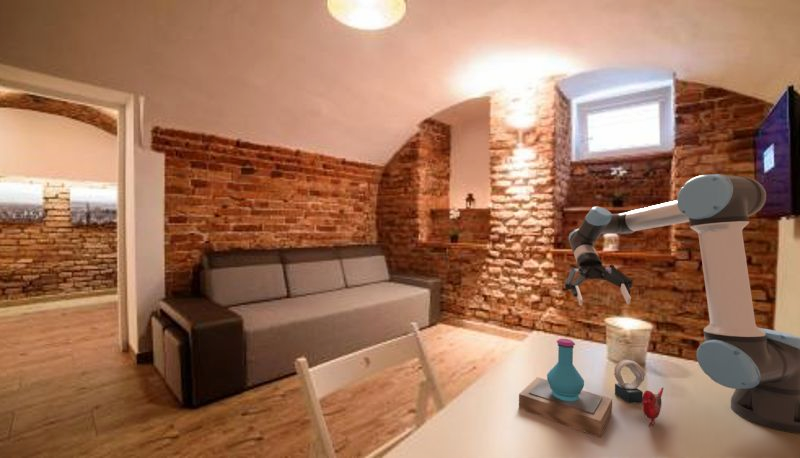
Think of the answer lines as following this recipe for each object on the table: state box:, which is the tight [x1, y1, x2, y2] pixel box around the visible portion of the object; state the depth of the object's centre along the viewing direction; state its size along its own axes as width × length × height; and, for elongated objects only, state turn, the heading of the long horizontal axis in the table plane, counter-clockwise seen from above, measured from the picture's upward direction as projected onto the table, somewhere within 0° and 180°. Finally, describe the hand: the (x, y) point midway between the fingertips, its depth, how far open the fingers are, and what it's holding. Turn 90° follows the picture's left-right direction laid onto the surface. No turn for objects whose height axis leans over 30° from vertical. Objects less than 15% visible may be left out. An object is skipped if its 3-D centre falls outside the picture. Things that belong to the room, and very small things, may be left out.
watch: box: [613, 359, 647, 404], centre depth 104 cm, size 6×8×11 cm
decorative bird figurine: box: [642, 387, 664, 428], centre depth 91 cm, size 3×18×10 cm, turn 132°
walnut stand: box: [518, 376, 613, 438], centre depth 96 cm, size 20×14×4 cm
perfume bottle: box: [546, 338, 585, 401], centre depth 96 cm, size 9×9×15 cm
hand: (604, 301), depth 111 cm, fingers open, 13 cm apart
